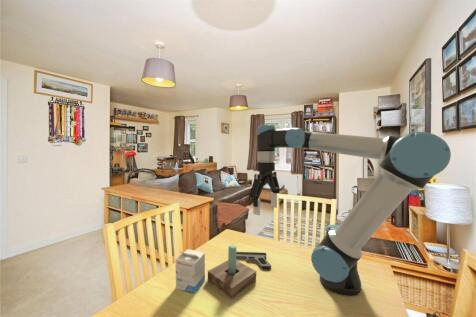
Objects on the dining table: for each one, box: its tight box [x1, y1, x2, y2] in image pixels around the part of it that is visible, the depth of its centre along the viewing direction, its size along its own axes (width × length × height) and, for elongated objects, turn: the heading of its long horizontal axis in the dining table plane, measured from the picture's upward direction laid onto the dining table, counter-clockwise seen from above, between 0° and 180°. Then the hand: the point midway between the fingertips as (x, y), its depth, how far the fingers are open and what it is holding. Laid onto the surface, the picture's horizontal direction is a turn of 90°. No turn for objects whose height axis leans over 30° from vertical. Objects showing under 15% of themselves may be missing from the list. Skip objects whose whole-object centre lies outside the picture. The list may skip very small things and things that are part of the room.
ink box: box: [174, 248, 206, 294], centre depth 80 cm, size 9×8×13 cm
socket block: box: [207, 259, 257, 299], centre depth 83 cm, size 14×14×4 cm
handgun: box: [236, 251, 272, 271], centre depth 97 cm, size 2×17×12 cm
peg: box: [227, 244, 237, 276], centre depth 83 cm, size 3×3×14 cm
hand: (265, 210), depth 88 cm, fingers open, 13 cm apart
